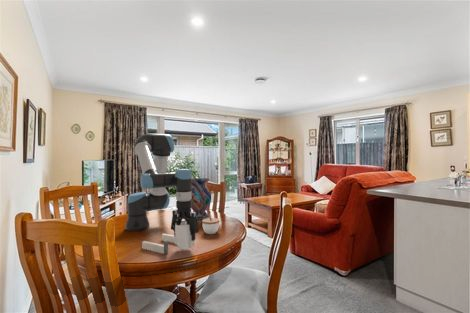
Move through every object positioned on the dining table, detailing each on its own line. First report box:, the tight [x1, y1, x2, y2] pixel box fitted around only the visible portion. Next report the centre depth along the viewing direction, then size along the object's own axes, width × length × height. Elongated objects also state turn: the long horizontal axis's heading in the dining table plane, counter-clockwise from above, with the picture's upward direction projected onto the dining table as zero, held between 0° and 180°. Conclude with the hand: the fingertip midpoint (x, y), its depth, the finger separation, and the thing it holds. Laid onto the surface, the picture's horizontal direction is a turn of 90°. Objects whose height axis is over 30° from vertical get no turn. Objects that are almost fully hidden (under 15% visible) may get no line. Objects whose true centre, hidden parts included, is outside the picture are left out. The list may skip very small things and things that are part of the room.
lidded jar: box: [201, 216, 220, 235], centre depth 148 cm, size 11×11×9 cm
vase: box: [190, 177, 212, 221], centre depth 187 cm, size 18×18×30 cm
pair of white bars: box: [141, 233, 175, 255], centre depth 126 cm, size 17×16×6 cm
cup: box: [175, 220, 191, 250], centre depth 119 cm, size 9×9×12 cm
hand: (184, 245), depth 119 cm, fingers closed on cup, 9 cm apart
